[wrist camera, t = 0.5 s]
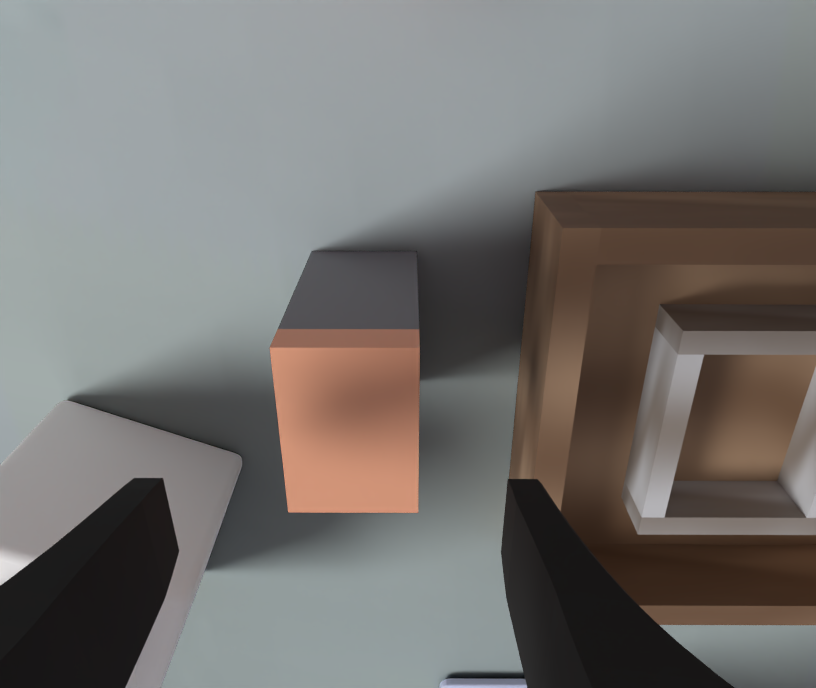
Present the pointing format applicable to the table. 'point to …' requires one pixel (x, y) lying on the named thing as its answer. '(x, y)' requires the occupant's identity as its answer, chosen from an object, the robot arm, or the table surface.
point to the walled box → (678, 395)
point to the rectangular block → (350, 384)
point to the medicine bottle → (99, 480)
